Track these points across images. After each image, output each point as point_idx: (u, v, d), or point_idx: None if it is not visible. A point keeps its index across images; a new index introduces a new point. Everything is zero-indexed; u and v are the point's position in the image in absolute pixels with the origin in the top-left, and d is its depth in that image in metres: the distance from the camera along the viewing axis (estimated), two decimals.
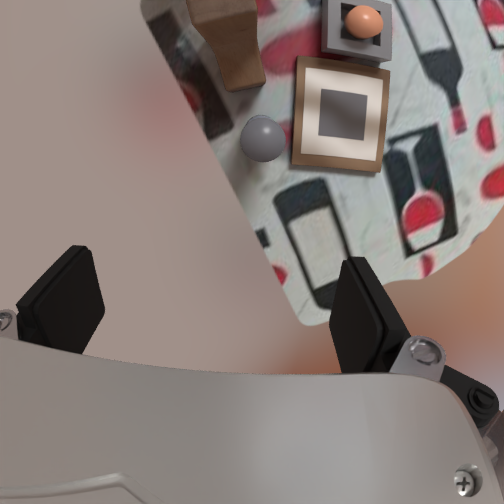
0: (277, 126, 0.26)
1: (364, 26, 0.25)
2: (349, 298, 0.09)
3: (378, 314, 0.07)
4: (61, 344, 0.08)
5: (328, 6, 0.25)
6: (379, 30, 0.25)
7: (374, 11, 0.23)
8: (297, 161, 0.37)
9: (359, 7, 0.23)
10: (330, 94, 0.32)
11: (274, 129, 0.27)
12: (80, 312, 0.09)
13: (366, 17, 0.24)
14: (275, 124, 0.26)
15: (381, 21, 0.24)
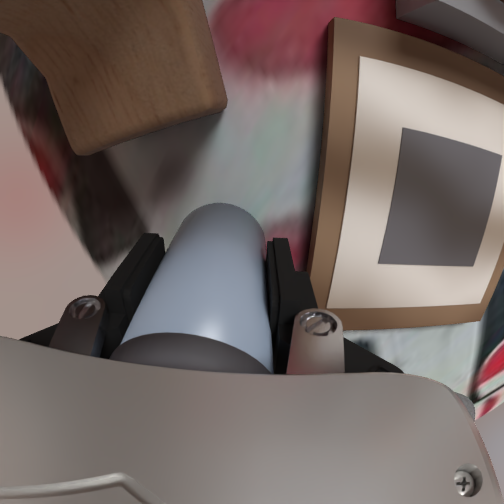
0: None
1: None
2: (267, 275, 0.10)
3: (278, 286, 0.08)
4: None
5: None
6: None
7: None
8: None
9: None
10: (426, 147, 0.10)
11: None
12: None
13: None
14: None
15: None
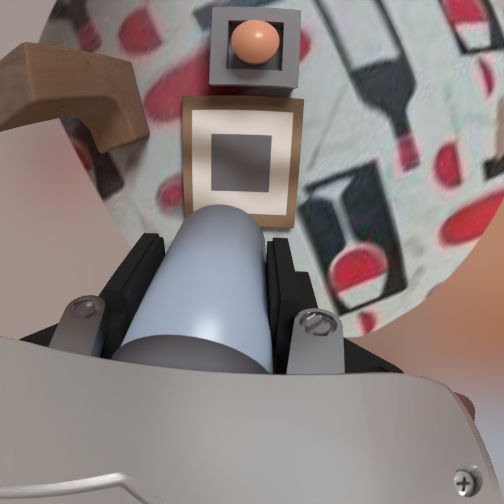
0: None
1: (251, 49, 0.21)
2: (267, 275, 0.10)
3: (278, 286, 0.08)
4: None
5: (212, 29, 0.22)
6: (273, 51, 0.21)
7: (267, 25, 0.20)
8: None
9: (245, 24, 0.20)
10: (223, 140, 0.29)
11: None
12: None
13: (254, 36, 0.21)
14: None
15: (276, 37, 0.21)
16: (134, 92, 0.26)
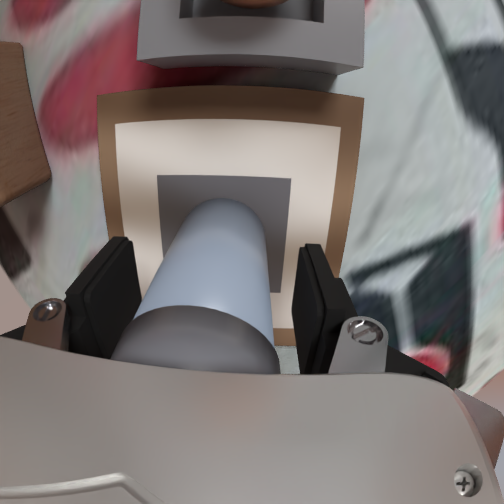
0: None
1: None
2: (302, 282, 0.10)
3: (321, 295, 0.08)
4: (107, 333, 0.09)
5: None
6: None
7: None
8: None
9: None
10: (183, 188, 0.13)
11: None
12: (123, 301, 0.10)
13: None
14: None
15: None
16: (15, 97, 0.10)
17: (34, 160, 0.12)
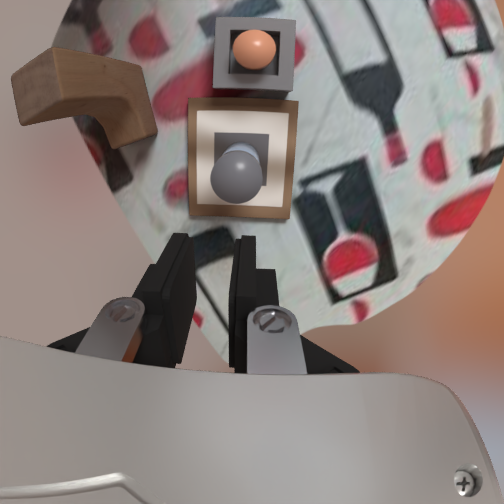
0: (253, 162, 0.24)
1: (250, 56, 0.24)
2: None
3: (236, 283, 0.08)
4: (178, 331, 0.09)
5: (215, 37, 0.25)
6: (270, 58, 0.24)
7: (265, 35, 0.23)
8: (194, 211, 0.36)
9: (245, 33, 0.23)
10: (225, 138, 0.32)
11: (250, 166, 0.24)
12: (187, 299, 0.10)
13: (254, 44, 0.24)
14: (250, 160, 0.23)
15: (273, 46, 0.24)
16: (144, 93, 0.29)
17: (153, 123, 0.31)
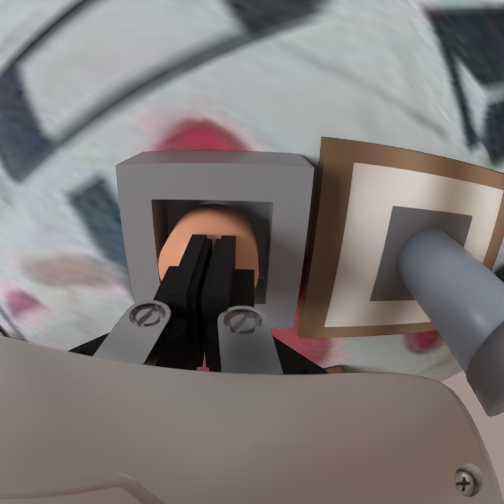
0: None
1: None
2: None
3: (210, 283, 0.08)
4: (200, 334, 0.09)
5: None
6: None
7: (169, 249, 0.11)
8: None
9: None
10: (384, 284, 0.17)
11: None
12: None
13: None
14: None
15: (197, 230, 0.11)
16: None
17: None
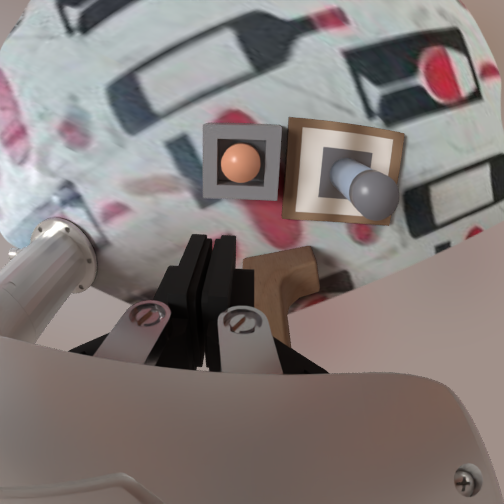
0: (367, 180, 0.24)
1: (249, 167, 0.30)
2: None
3: (210, 283, 0.08)
4: (200, 334, 0.09)
5: (224, 197, 0.33)
6: (250, 149, 0.30)
7: (226, 154, 0.30)
8: (387, 220, 0.36)
9: (225, 171, 0.31)
10: (324, 187, 0.34)
11: (370, 183, 0.24)
12: None
13: (237, 164, 0.30)
14: (364, 181, 0.24)
15: (238, 146, 0.29)
16: (272, 257, 0.38)
17: (301, 250, 0.38)
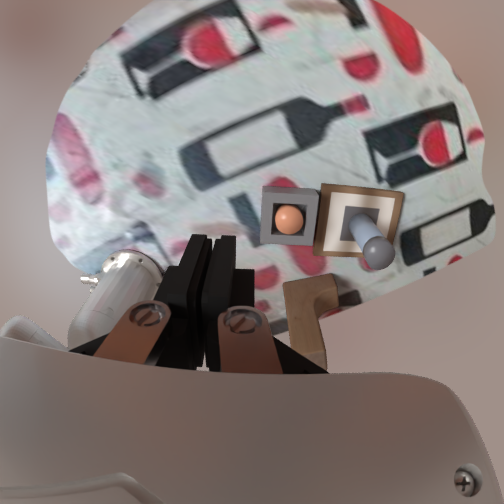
0: (376, 246, 0.38)
1: (295, 223, 0.44)
2: None
3: (210, 283, 0.08)
4: (200, 334, 0.09)
5: (275, 243, 0.46)
6: (297, 212, 0.43)
7: (279, 215, 0.44)
8: None
9: (278, 226, 0.44)
10: (344, 233, 0.48)
11: (377, 248, 0.38)
12: None
13: (286, 221, 0.44)
14: (374, 247, 0.38)
15: (288, 209, 0.43)
16: (305, 283, 0.52)
17: (326, 277, 0.52)
